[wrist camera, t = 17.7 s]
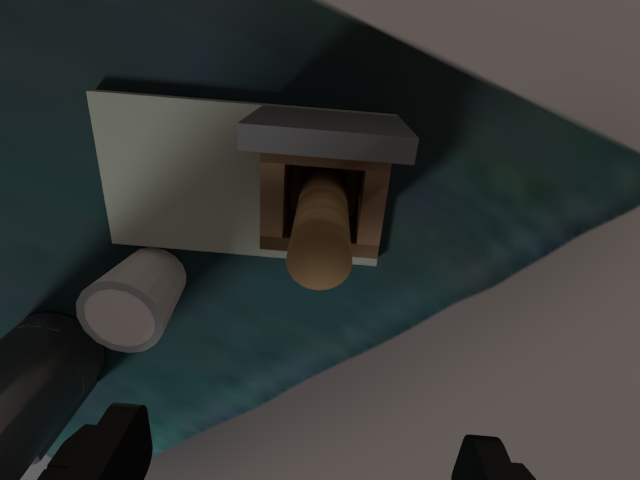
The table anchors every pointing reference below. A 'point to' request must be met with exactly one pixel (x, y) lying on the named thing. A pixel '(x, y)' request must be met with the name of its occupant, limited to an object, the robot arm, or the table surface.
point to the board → (180, 172)
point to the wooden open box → (284, 190)
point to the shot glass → (132, 301)
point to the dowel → (321, 231)
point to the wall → (327, 135)
